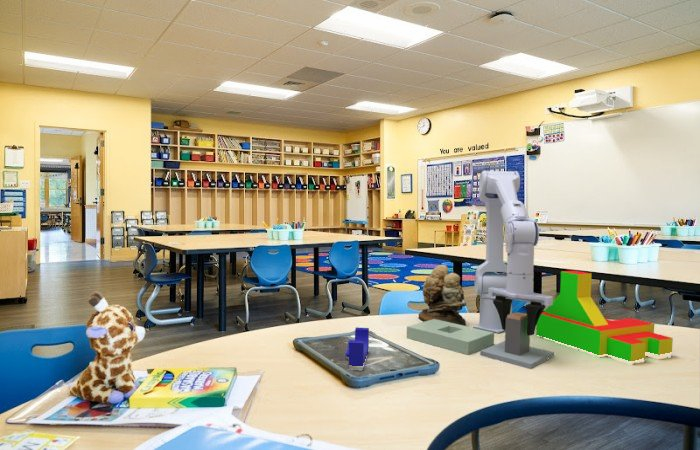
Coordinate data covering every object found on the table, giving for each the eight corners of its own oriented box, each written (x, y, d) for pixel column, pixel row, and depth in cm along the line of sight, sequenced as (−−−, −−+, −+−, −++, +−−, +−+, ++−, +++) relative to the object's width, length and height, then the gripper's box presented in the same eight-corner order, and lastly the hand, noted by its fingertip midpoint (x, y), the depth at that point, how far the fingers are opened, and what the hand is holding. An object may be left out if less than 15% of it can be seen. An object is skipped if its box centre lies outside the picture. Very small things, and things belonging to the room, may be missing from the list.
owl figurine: (478, 326, 134) (480, 267, 133) (446, 331, 129) (447, 270, 128) (439, 312, 150) (440, 259, 149) (408, 316, 145) (409, 261, 144)
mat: (505, 344, 117) (505, 340, 117) (553, 356, 108) (554, 352, 108) (480, 355, 109) (480, 350, 108) (530, 368, 100) (531, 364, 100)
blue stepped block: (349, 352, 110) (349, 327, 109) (368, 353, 109) (368, 328, 109) (341, 370, 98) (341, 342, 97) (362, 371, 97) (363, 343, 97)
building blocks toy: (623, 367, 103) (627, 284, 102) (536, 337, 126) (538, 268, 125) (678, 357, 110) (682, 280, 109) (586, 330, 133) (589, 266, 132)
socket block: (433, 329, 130) (434, 318, 130) (493, 344, 117) (494, 332, 117) (406, 337, 121) (406, 326, 121) (467, 354, 109) (468, 342, 108)
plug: (514, 347, 111) (516, 311, 111) (529, 351, 109) (530, 314, 108) (504, 352, 108) (505, 315, 107) (519, 355, 105) (520, 317, 105)
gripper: (482, 271, 110) (480, 328, 111) (544, 278, 100) (541, 342, 100) (497, 268, 115) (495, 323, 115) (557, 275, 105) (555, 336, 105)
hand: (517, 331), depth 108 cm, fingers open, 5 cm apart
